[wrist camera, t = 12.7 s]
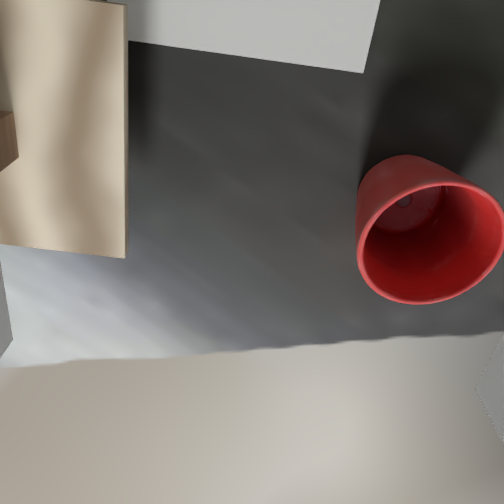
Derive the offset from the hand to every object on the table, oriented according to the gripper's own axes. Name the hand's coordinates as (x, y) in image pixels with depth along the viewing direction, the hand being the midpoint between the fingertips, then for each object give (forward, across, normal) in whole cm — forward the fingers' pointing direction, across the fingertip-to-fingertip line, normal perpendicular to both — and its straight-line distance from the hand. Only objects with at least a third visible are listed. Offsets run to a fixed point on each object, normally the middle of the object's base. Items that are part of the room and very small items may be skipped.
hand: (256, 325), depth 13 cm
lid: (+24, +18, +4) cm, 30 cm away
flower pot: (+31, -14, +8) cm, 35 cm away
